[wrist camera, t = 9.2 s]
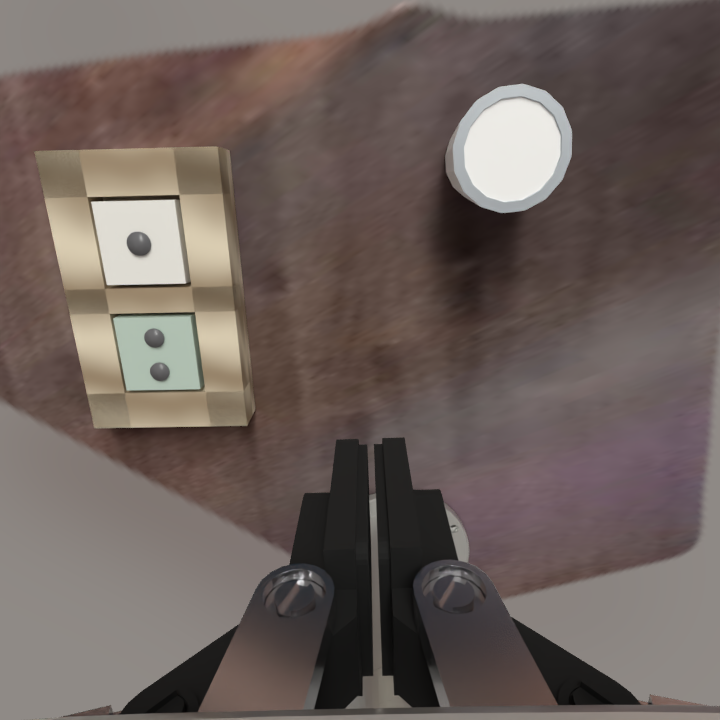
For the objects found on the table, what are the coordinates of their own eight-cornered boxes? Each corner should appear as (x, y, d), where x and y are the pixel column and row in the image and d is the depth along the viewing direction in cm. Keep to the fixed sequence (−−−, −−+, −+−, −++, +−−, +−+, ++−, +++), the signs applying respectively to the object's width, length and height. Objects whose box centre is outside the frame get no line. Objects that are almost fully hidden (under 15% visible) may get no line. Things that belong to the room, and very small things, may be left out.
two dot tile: (209, 378, 39) (199, 390, 37) (139, 380, 39) (125, 391, 37) (200, 310, 37) (189, 317, 35) (127, 311, 37) (111, 319, 35)
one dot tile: (196, 278, 36) (184, 284, 34) (121, 280, 36) (105, 285, 34) (185, 199, 35) (173, 199, 32) (107, 201, 35) (89, 201, 32)
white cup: (474, 230, 36) (498, 237, 29) (416, 153, 34) (428, 143, 28) (552, 165, 35) (597, 157, 28) (496, 82, 33) (528, 53, 26)
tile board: (255, 409, 41) (247, 425, 38) (113, 412, 41) (94, 428, 38) (229, 150, 34) (217, 146, 32) (61, 154, 35) (34, 151, 32)
